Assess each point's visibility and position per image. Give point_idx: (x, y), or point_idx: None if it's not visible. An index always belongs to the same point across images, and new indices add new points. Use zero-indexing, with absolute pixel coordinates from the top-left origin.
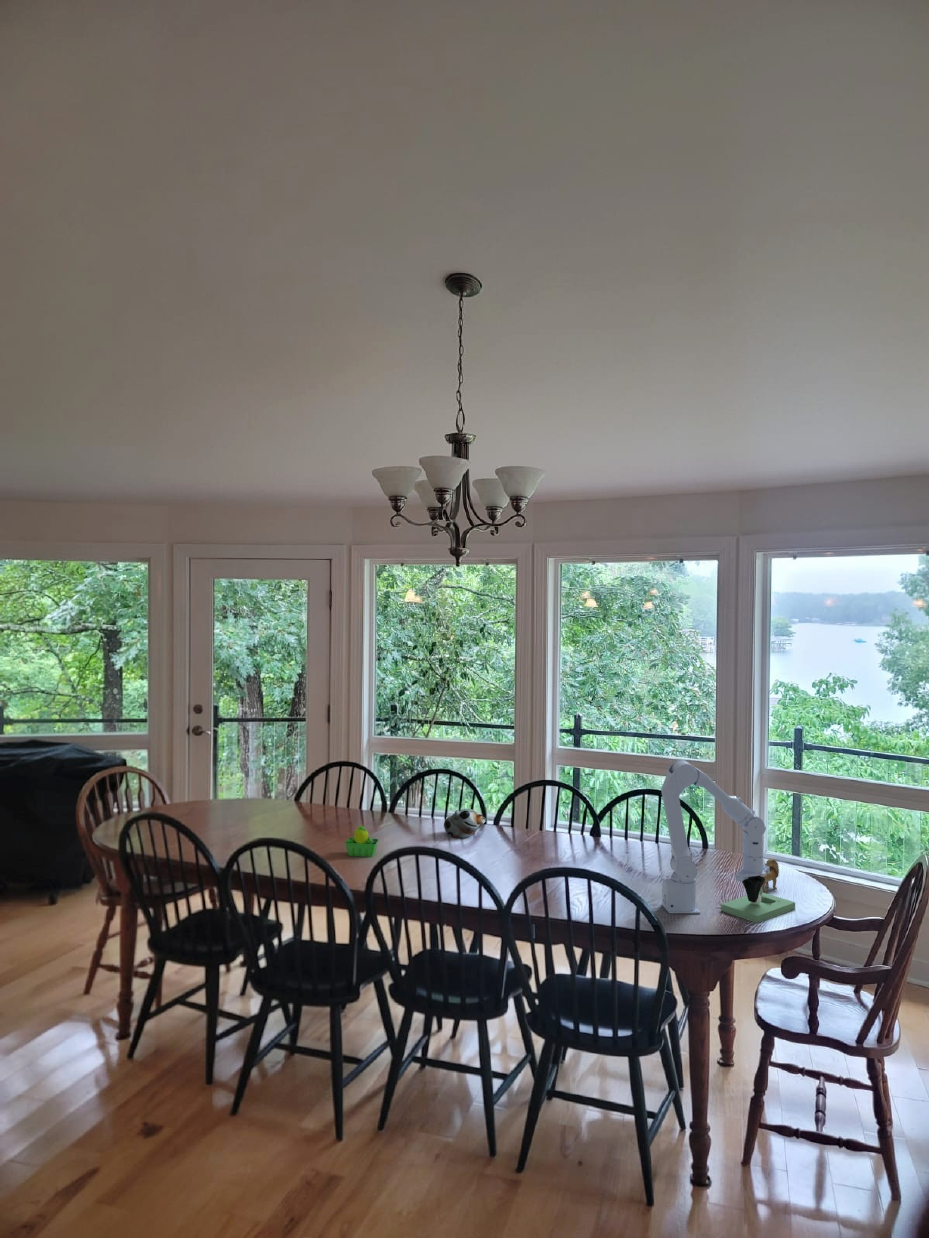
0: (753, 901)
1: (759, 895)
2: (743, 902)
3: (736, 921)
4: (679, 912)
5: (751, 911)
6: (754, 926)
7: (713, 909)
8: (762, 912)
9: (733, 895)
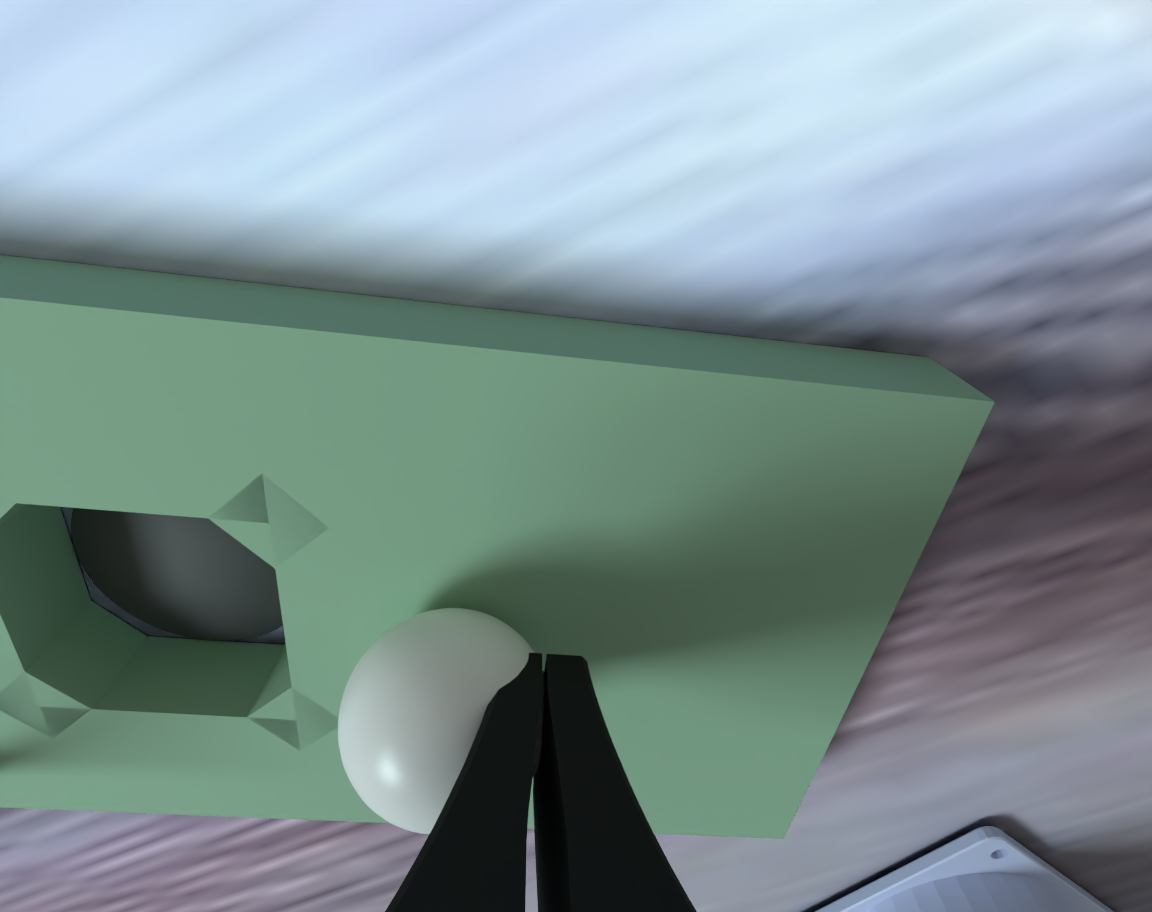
0: (587, 677)
1: (411, 726)
2: None
3: (1021, 549)
4: (1094, 899)
5: (819, 546)
6: (1110, 317)
7: None
8: (747, 420)
9: (224, 865)
